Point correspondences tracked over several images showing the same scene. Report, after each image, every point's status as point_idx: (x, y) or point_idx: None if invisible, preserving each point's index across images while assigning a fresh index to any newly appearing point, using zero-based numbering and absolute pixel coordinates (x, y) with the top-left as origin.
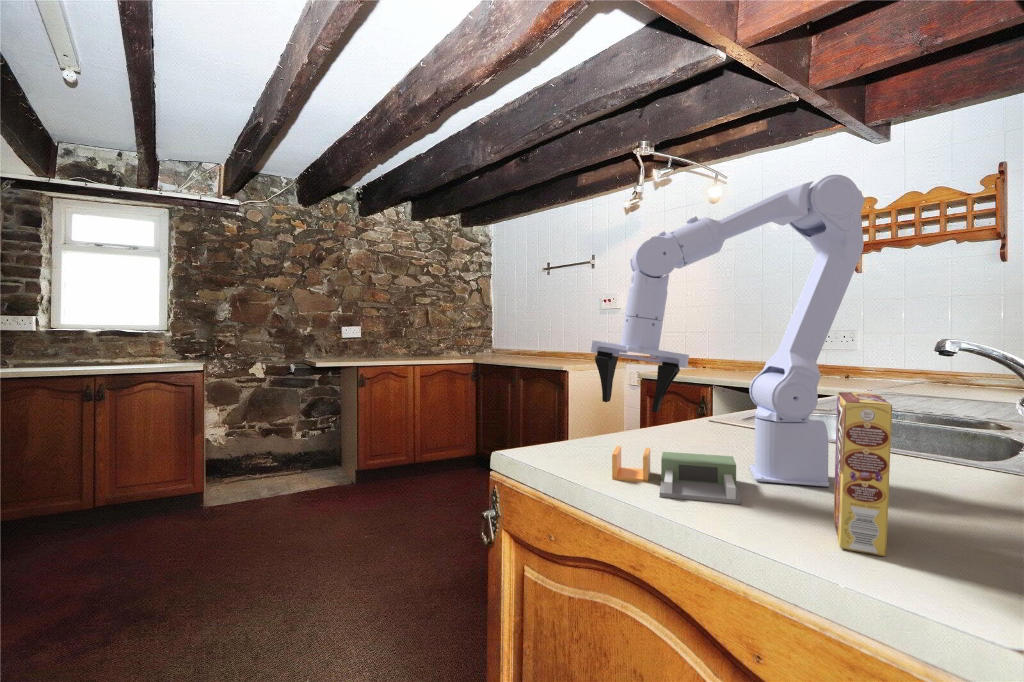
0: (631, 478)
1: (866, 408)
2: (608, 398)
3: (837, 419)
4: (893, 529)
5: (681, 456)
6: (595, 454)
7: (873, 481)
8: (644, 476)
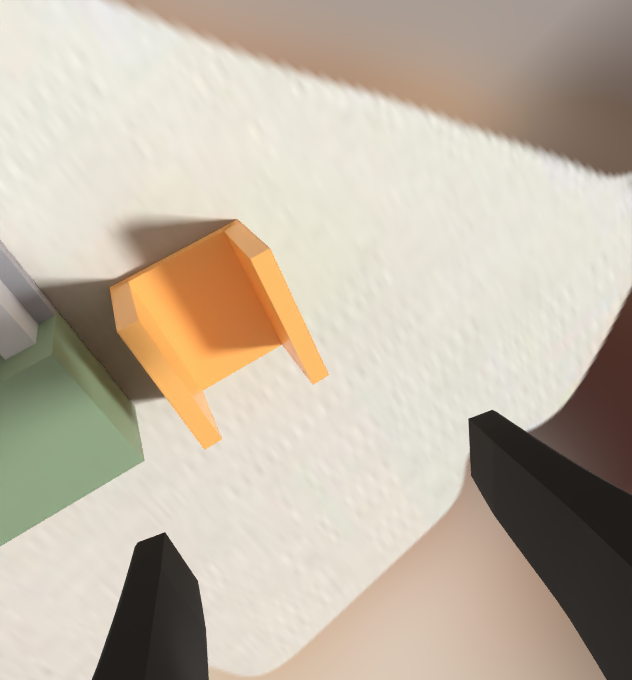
0: (171, 259)
1: None
2: (481, 461)
3: None
4: None
5: (28, 465)
6: (429, 409)
7: None
8: (124, 289)
